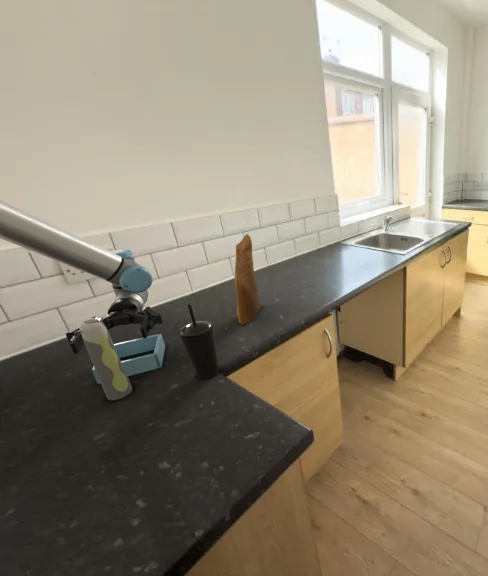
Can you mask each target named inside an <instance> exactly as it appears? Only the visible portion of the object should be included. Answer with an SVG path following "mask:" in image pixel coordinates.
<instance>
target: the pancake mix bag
mask: <svg viewBox="0 0 488 576" xmlns="http://www.w3.org/2000/svg"><path fill="white" fill-rule="evenodd" d="M253 258H254V257H253V243H252V238H251V236H250V234H249V233H246V234H245V235H244V236H243V238H242V239H241V240H240V241H239V242H238V243H237V244H236V245H235V263H234V284H235V285H234V286H235V290H236V291H235V293H236V315H237V321H238V324H240V326H244V325H245V324H248V323H250V322H252V321H254V319H255V318H256V316H257V315H258V313H259V312H260V311H261V309H262V305H261V301H260V296H259V291H258V287H257V286H258V285H257V280H256V277H255V268H254V259H253Z"/></svg>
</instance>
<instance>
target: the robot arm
mask: <svg viewBox="0 0 488 576" xmlns="http://www.w3.org/2000/svg"><path fill="white" fill-rule="evenodd" d="M0 240H3V241H6V242H8V243H11V244H14V245H15V246H17V247H21V248H24V249H26V250H29V251H31V252H34V253H36V254H38V255H41V256H43V257H46V258H49V259H51V260H54V261H56V262H59V263H61V264H62V265H63V264H64V265H66V266H69V267H71V268H73V269H75V270H79V271H82V272H83V273H86V274H89V275H91V276H94V277H96V278H99V279H102V280H104V281H106V282H108V283H110V284H111V287H112V289H113V293H114V295H115V298H114V299H113V301H112V302H111V304H110V306H109V307H108V309H107V313H106V314H105V315H104V316H102V317H99V318H98V316H97V315H94V316H91V317H90V318H89V319H88V320H90V319H98V320H100V321H102V322H103V323H104V324H105V326H106V328H107V331H109V330H111V329H113V328H115V327H119V326H129V325H132V324H133V325H137V324H139V325H140V328H139V330H140V334H141V336H142V338H143V339H144V338H147V337H148V336H149V332H150V331H151V330H153V329H154V327H155V326H156V324H158V325H160V324H161V325H162V324H163V323H164V321H163V317H162V314H161V313H159V312H157V311H155V310H154V309H152V308H151V306H146V307H145V304H146V303H147V301H148V299H149V291H148V289H150V288H151V286H152V284H153V282H154V281H153V280H154V278H153V275H152V273H151V272H150V271H149V270H148V269H147V268H146V267H144V266H142V265H140V264H139V263H138V262H136V260H135V256H134V254H133V252H132V251H131V250H130V249H115V250H110V251H109V250H107V249H106V248H103V247H101V246H99V245H97V244H95V243H93V242H91V241H88V240H86V239H84V238H82V237H80V236H78V235H76V234H74V233H71V232H69V231H67V230H66V229H63V228H60V227H59V226H57V225H54V224H52V223H50V222H48V221H46V220H44V219H41V218H39V217H38V216H35V215H32V214H31V213H28V212H26V211H24V210H23V209H20V208H18V207H15V206H14V205H12V204H9V203H8V202H5V201H4V200H0ZM80 325H81V324H80ZM80 325H78V326H75V327H74V328H72V329H71V330H69V331H67V332H65V336H66V339H67V341H68V343H69V345H70V348H71V350H72V352H73V355H76V354H79V353H80V351H81V350H82V348H83V347H84V346H85V344H84V339H83V337H82V334H81V332H80V329H79V327H80Z"/></svg>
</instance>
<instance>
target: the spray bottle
mask: <svg viewBox="0 0 488 576" xmlns="http://www.w3.org/2000/svg"><path fill="white" fill-rule="evenodd" d="M89 319H90V318H89ZM89 319H87V320H84V321H83V322H82V323H80V327H79V329H80V332H81V334H82V337H83V339H84V347H85V348H86V351H87V354H88V356H89V359H90V361H91V363H92V365H93V367H94V368H95V370H96V373H97V375H98V377H99V380H100V382H101V383H100V385H101V387H102V389H103V392H104V394H105V397H106V399H107V400H109V401H118V400H121V399H124V398H126V397H127V396H129V395H130V394H131V393H132V392H133V386H132V384H131V381H130V379H129V376H127V374H126V372H125V370H124V367H123V365H122V363H121V361H122V360H121V358H119V356H118V353H117V351H116V348H115V346H114V344H115V343H114V341H113V339H112V337H111V335H110V332H109V330H107V328H106V326H105V324H104V323H103V322H102V321H100V320H98V319H99V318H98V319H90V320H89Z"/></svg>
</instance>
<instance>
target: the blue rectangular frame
mask: <svg viewBox="0 0 488 576" xmlns="http://www.w3.org/2000/svg"><path fill="white" fill-rule="evenodd" d="M113 344H114V346H115V348H116V351H117V353H118V356H119V358H120V359H121V358H126V357H130V356H134V355H139V354H142V353H147V352H151V351H153V353H150V354H146V355H142V356H138V357H134V358H133V357H132V358H129V359H125V360H121V363H122V365H123V367H124V370H125V372H126V374H127V377H131V376H135V375H139V374H142V373H146V372H150V371H153V370H157V369H161V368H162V367H163V360H164V356H165V350H166V344H165V340H164V338H163V334H162V333H158V334H153V335H148V336H147V338H144V339H143V337H140V338H135V339H131V340H127V341H122V342H118V343H113ZM91 372H92V375H93V377H94V379H95V381H96V383H97V385H101V382H100V380H99V377H98V375H97V373H96V370H95V368H94V366H93V367H92V369H91Z"/></svg>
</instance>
